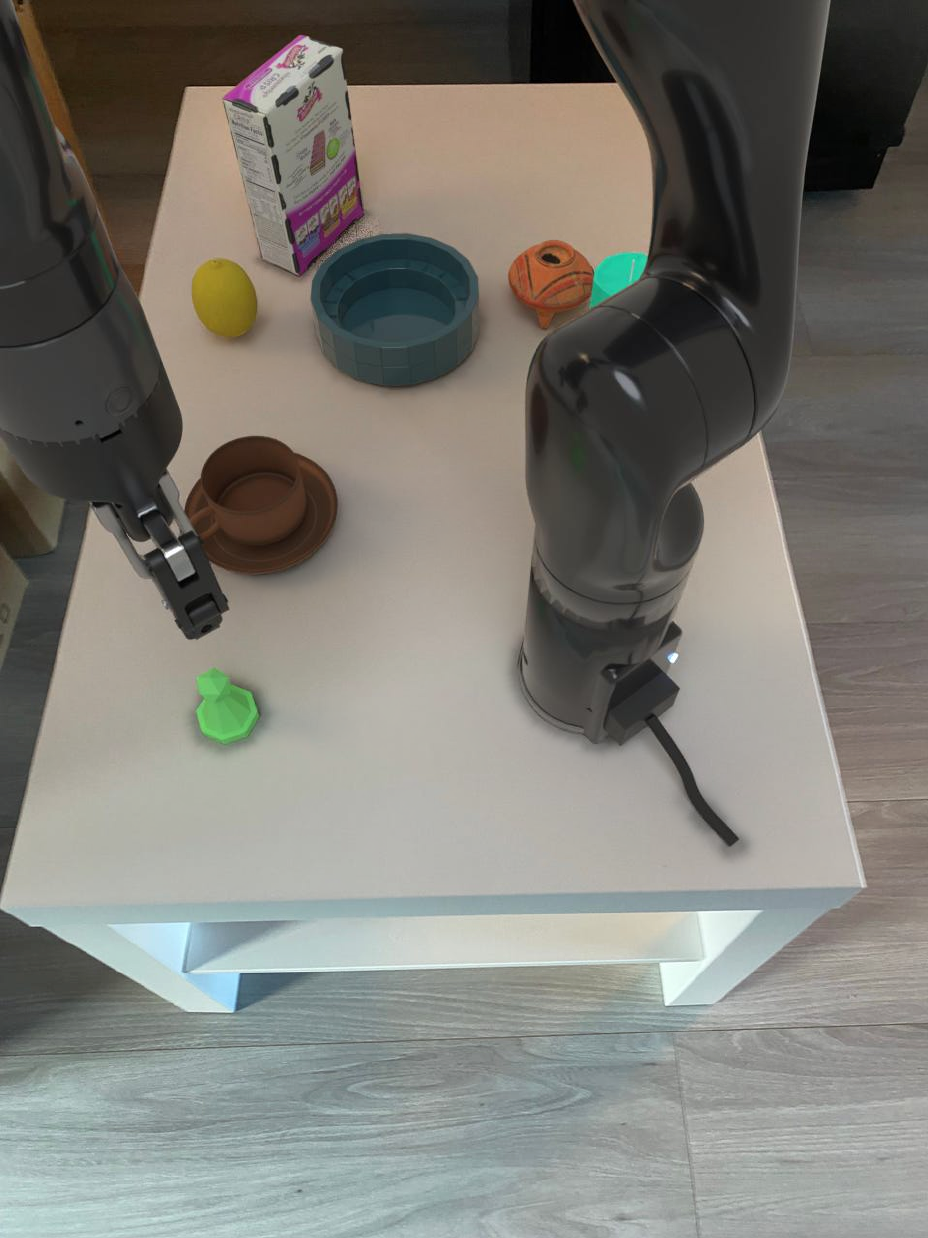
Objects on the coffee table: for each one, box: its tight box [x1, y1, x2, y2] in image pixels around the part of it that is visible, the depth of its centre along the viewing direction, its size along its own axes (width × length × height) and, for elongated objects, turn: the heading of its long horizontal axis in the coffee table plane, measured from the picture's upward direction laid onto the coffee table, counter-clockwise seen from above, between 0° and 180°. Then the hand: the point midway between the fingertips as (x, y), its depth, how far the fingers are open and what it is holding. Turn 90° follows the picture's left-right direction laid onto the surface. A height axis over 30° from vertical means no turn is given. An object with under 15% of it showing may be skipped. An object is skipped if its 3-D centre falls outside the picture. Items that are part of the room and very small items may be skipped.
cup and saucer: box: [183, 435, 339, 575], centre depth 73 cm, size 12×12×6 cm
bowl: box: [310, 232, 480, 387], centre depth 85 cm, size 15×15×5 cm
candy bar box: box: [221, 34, 365, 277], centre depth 87 cm, size 11×5×16 cm, turn 148°
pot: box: [507, 239, 595, 330], centre depth 86 cm, size 8×8×7 cm
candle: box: [589, 251, 648, 309], centre depth 79 cm, size 6×6×12 cm
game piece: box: [195, 666, 260, 745], centre depth 65 cm, size 4×4×6 cm
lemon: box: [190, 257, 259, 338], centre depth 83 cm, size 6×6×8 cm
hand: (168, 574), depth 54 cm, fingers open, 8 cm apart
